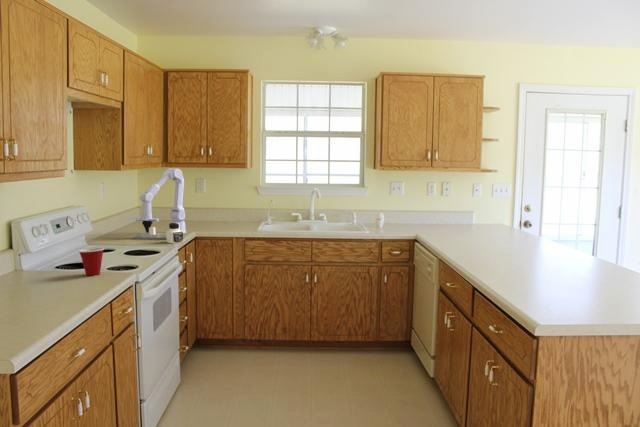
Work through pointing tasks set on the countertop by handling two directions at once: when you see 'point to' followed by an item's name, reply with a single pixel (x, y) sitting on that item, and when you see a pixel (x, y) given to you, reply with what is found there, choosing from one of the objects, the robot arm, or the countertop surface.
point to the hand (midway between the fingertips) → (147, 232)
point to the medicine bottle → (174, 234)
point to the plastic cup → (92, 260)
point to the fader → (152, 230)
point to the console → (151, 236)
